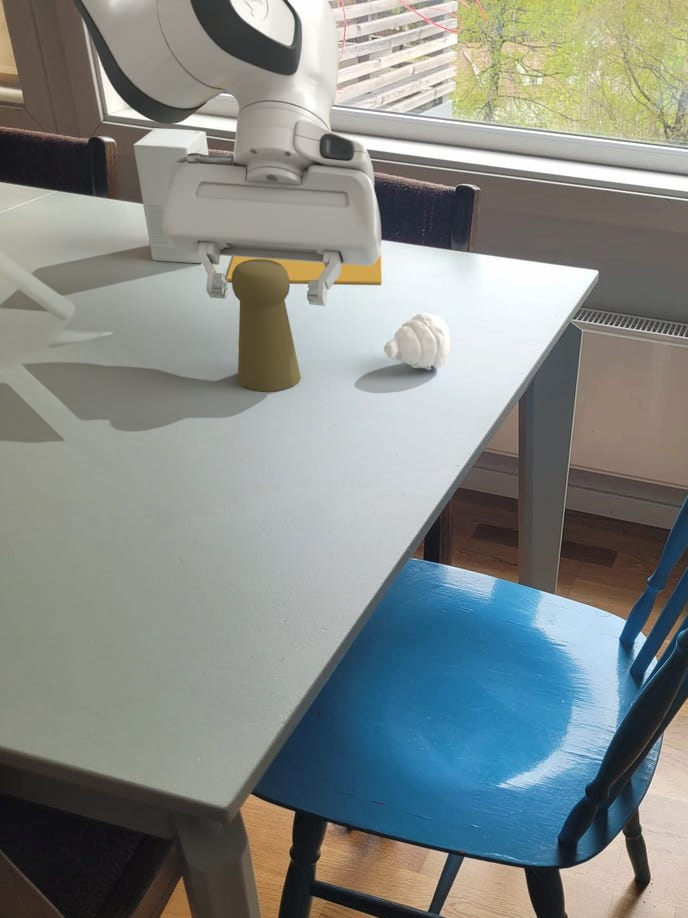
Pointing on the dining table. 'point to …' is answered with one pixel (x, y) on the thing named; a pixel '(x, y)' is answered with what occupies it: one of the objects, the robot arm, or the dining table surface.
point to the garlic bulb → (421, 342)
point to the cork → (264, 327)
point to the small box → (163, 182)
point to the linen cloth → (313, 270)
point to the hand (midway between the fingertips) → (266, 299)
